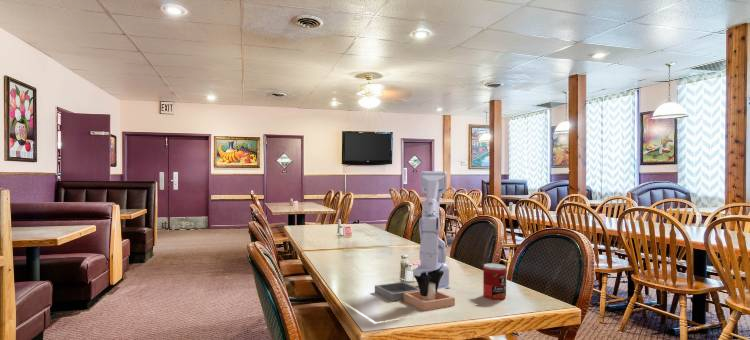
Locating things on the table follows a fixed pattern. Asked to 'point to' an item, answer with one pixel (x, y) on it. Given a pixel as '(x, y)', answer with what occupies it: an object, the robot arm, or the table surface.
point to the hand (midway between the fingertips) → (428, 294)
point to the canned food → (494, 281)
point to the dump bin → (439, 302)
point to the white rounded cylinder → (430, 292)
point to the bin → (394, 290)
